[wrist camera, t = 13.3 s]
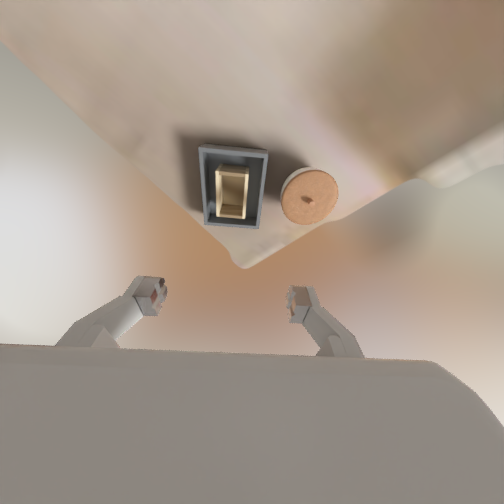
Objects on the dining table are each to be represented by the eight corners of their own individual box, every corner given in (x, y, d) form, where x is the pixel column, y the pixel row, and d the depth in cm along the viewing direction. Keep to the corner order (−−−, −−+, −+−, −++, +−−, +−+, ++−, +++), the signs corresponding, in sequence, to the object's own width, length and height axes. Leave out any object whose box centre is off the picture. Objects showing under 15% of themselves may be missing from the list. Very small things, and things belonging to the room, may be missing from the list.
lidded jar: (267, 184, 40) (271, 200, 33) (310, 149, 36) (325, 158, 29) (293, 217, 45) (301, 238, 38) (333, 190, 41) (351, 207, 34)
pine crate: (220, 163, 37) (215, 170, 32) (249, 166, 37) (248, 174, 33) (220, 205, 42) (216, 216, 38) (245, 207, 43) (245, 219, 38)
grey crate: (204, 143, 35) (198, 147, 31) (266, 149, 36) (268, 154, 32) (208, 214, 45) (204, 224, 41) (258, 219, 45) (258, 229, 41)
